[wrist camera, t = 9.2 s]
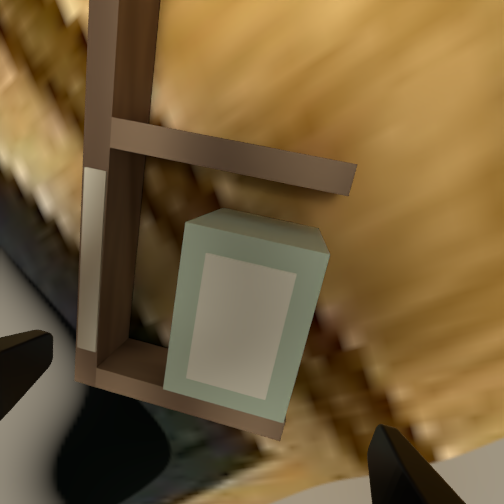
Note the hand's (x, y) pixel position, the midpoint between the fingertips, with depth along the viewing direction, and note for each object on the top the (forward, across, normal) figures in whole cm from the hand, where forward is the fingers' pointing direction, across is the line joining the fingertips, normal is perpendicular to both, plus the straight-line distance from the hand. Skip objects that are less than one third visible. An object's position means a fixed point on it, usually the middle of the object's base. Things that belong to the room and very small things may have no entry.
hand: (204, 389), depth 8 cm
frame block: (+9, 0, 0) cm, 9 cm away
